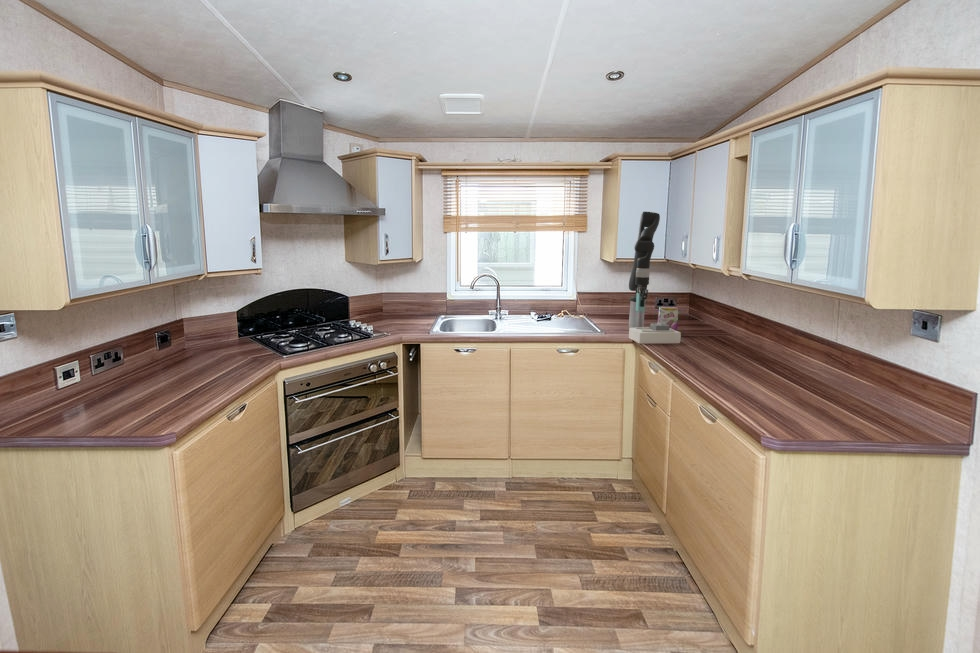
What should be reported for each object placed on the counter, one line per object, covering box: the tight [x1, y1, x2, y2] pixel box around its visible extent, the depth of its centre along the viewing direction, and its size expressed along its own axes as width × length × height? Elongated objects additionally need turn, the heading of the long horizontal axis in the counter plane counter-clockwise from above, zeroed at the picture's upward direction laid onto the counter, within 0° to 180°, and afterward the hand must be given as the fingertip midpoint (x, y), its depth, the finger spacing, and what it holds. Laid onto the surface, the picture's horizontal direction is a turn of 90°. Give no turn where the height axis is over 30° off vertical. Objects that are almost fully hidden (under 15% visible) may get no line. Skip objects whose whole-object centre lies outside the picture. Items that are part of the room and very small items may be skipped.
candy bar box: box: [657, 306, 680, 331], centre depth 320 cm, size 11×5×16 cm, turn 84°
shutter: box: [649, 321, 670, 330], centre depth 299 cm, size 8×8×4 cm
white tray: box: [628, 326, 682, 345], centre depth 299 cm, size 16×24×7 cm, turn 96°
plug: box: [635, 293, 647, 312], centre depth 298 cm, size 4×4×10 cm
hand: (640, 306), depth 298 cm, fingers closed on plug, 4 cm apart
